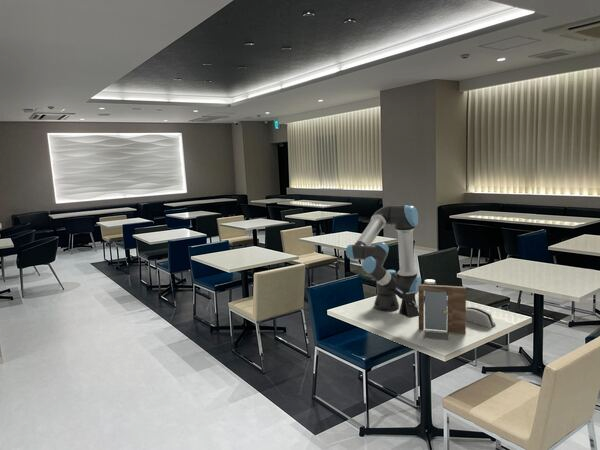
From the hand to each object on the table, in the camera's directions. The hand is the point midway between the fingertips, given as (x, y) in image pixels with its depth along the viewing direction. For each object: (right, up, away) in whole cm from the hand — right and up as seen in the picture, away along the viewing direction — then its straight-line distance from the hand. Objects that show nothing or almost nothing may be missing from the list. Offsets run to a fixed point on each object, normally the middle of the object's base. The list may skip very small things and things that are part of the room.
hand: (415, 307), depth 235 cm
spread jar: (+25, -5, +58) cm, 63 cm away
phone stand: (-4, -4, -1) cm, 5 cm away
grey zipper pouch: (+37, -11, +10) cm, 40 cm away
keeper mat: (+9, -14, -6) cm, 17 cm away
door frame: (+14, -13, 0) cm, 19 cm away
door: (+11, -12, +1) cm, 16 cm away
